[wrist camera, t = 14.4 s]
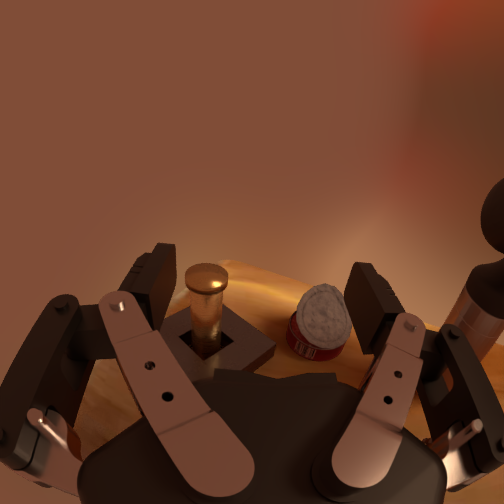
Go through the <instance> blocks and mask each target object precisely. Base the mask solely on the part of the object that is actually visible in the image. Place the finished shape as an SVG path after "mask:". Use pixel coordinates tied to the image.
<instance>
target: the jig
mask: <svg viewBox="0 0 504 504" xmlns="http://www.w3.org/2000/svg"><path fill="white" fill-rule="evenodd" d="M159 333H160V335H161V336H162V338H163V340H164V341H165V343H166V345H167V346H168V348H169V349H170V351H171V353H172V354H173V356H174V357H175V359H176V360H177V362H178V364H179V365H180V367H181V368H182V370H183V371H184V373H185V374H186V376H187V377H188V379H189V380H190V381H191V382H193V381H196V380H199V379H202V378H207V377H213V375H214V368H219V369H230V370H242V371H248V372H252V373H253V372H254V371H255V370H256V369H258V368H259V367H260V366H262V365H263V364H264V363H265V362H267V361H268V360H269V359H270V358H272V357H273V355H274V351H275V347H276V342H274V341H273V340H271V339H270V338H269V337H267V336H266V335H264V334H263V333H262V332H260V331H259V330H257V329H256V328H255V327H253V326H252V325H251V324H249V323H248V322H246V321H245V320H244V319H242V318H241V317H240V316H238V315H237V314H236V313H234V312H233V311H232V310H230V309H229V308H228V307H226V306H225V305H224V304H222V319H221V341H220V344H221V345H222V346H224V347H225V348H223V349H222V350H220V351H219V352H217V353H216V354H214V355H212V356H211V357H209V358H208V359H206V360H204V361H203V360H202V359H201V358H200V357H199V356H198V355H197V354H196V353H195V352H194V351H193V350H192V349H191V348H189V347H188V345H189V344H191V343H192V332H191V312H190V306H189V307H187V308H185V309H183V310H181V311H179V312H177V313H175V314H173V315H171V316H169V317H167V318H165V319H164V320H163V323H162V326H161V329H160V332H159Z"/></svg>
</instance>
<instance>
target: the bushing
mask: <svg viewBox="0 0 504 504" xmlns="http://www.w3.org/2000/svg"><path fill="white" fill-rule="evenodd" d="M185 284H186V286H187V288H188V289H189V290H190V312H191V332H192V349H193V351H194V352H195V353H196V354H197V355H198V356H199V357H200V358H201V359H202V360H203V361H204V360H206V359H208V358H209V357H211V356H212V355H214V354H216V353H217V352H219V351H220V341H221V319H222V300H223V290H224V289H225V288H226V287H227V285H228V273H227V271H226V270H225V269H224V268H222V267H221V266H218V265H215V264H210V263H201V264H196V265H194V266H191V267H190V268H189V269H187V271H186V273H185Z"/></svg>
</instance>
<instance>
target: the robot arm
mask: <svg viewBox="0 0 504 504" xmlns="http://www.w3.org/2000/svg"><path fill="white" fill-rule="evenodd" d="M481 228H482V232H483V235H484V237H485V239H486V240H487V242H488V243H489V244H490V245H491V246H492V247H493V248H495V249H496V250H497V251H499V252H501V253H503V254H504V178H503V179H502V180H500V181H499V182H498V183H497V184H496V185H495V186H494V187H493V188H492V189H491V191H490V192H489V194H488V196H487V197H486V199H485V201H484V204H483V207H482V211H481ZM176 278H177V271H176V248H175V244H167V243H157V245H156V246H155V248H154V250H153V251H152V253H144V254H143V255H142V256H140V257H139V258H137V260H136V261H135V263H134V264H133V267H132V268H131V269H130V271H129V273H128V274H127V276H126V277H125V279H124V280H123V282H122V284H121V285H120V287H119V289H118V290H117V291H114V292H110V293H108V294H106V295H105V296H103V297H102V299H101V300H100V302H99V304H95V305H82V306H80V305H79V302H78V300H77V298H76V297H75V296H73V295H69V294H65V295H59V296H57V297H55V298H53V299H52V300H51V301H50V302H49V303H48V304H47V306H46V307H45V309H44V310H43V312H42V313H41V315H40V316H39V318H38V320H37V321H36V323H35V324H34V326H33V327H32V329H31V331H30V333H29V334H28V336H27V337H26V339H25V341H24V343H23V344H22V346H21V348H20V350H19V351H18V353H17V355H16V357H15V359H14V360H13V362H12V364H11V366H10V368H9V370H8V372H7V374H6V376H5V378H4V380H3V382H2V384H1V386H0V461H1V462H2V463H4V465H5V466H7V467H8V468H9V469H11V470H12V471H14V472H16V473H17V474H19V475H21V476H22V477H24V478H26V479H27V480H30V481H33V482H34V483H36V484H38V485H40V486H42V487H46V488H50V487H54V488H56V489H59V490H61V491H64V492H66V493H69V494H71V495H74V496H77V497H79V498H80V501H81V504H443V502H444V497H445V492H446V491H449V492H457V491H459V490H461V489H463V488H464V487H466V486H468V485H470V484H472V483H474V482H475V481H477V480H479V479H481V478H482V477H484V476H486V475H487V474H489V473H490V472H492V471H494V470H495V469H497V468H498V467H500V466H501V465H503V464H504V413H503V410H502V408H501V406H500V403H499V401H498V399H497V396H496V394H495V392H494V390H493V388H492V385H491V383H490V381H489V379H488V377H487V375H486V373H485V371H484V369H483V367H482V365H481V363H480V362H481V361H482V360H483V358H484V357H485V356H486V354H487V353H488V352H489V350H490V349H491V348H492V346H493V345H494V343H495V342H496V340H497V339H498V337H499V336H500V334H501V333H502V332H503V330H504V258H503V259H501V260H499V261H497V262H494V263H490V264H482V265H478V266H476V267H475V268H474V269H473V270H472V271H471V273H470V275H469V277H468V280H467V282H466V284H465V286H464V288H463V289H462V292H461V294H460V295H459V297H458V299H457V301H456V303H455V305H454V307H453V308H452V310H451V312H450V314H449V315H448V317H447V319H446V320H445V322H444V324H443V326H442V327H441V329H440V330H439V332H435V331H431V330H427V329H426V328H425V325H424V323H423V322H422V320H421V319H419V318H418V317H417V316H415V315H413V314H410V313H406V312H405V310H404V308H403V306H402V305H401V303H400V301H399V300H398V298H397V296H395V293H394V291H393V290H392V288H391V286H390V285H389V283H388V282H387V281H386V280H385V279H384V278H383V277H382V276H381V275H379V274H377V272H376V270H375V269H374V267H373V265H372V264H371V263H362V262H355V263H354V264H353V267H352V270H351V273H350V276H349V279H348V282H347V285H346V288H345V291H344V302H345V305H346V308H347V310H348V313H349V316H350V318H351V321H352V324H353V327H354V329H355V332H356V335H357V338H358V340H359V343H360V346H361V349H362V352H363V355H364V354H374V359H373V360H372V362H371V364H370V366H369V368H368V370H367V372H366V374H365V376H364V378H363V380H362V381H361V383H360V385H359V387H358V389H356V388H354V387H352V386H350V385H348V384H345V383H341V382H337V378H336V374H335V373H306V374H301V375H296V376H291V377H286V378H281V379H275V378H271V377H267V376H263V375H259V374H255V373H252V372H248V371H242V370H230V369H219V368H214V375H213V377H207V378H202V379H199V380H196V381H193V382H191V381H190V380H189V379H188V377H187V376H186V374H185V373H184V371H183V370H182V368H181V367H180V365H179V364H178V362H177V360H176V359H175V357H174V356H173V354H172V353H171V351H170V349H169V348H168V346H167V345H166V343H165V341H164V340H163V338H162V336H161V335H160V333H159V332H160V329H161V326H162V323H163V320H164V317H165V314H166V311H167V309H168V306H169V303H170V300H171V297H172V295H173V292H174V289H175V286H176ZM114 358H115V359H116V361H117V363H118V366H119V368H120V370H121V373H122V375H123V377H124V380H125V382H126V384H127V386H128V388H129V390H130V393H131V395H132V397H133V399H134V401H135V403H136V405H137V407H138V409H139V411H140V413H141V415H142V418H140V419H139V420H138V421H136V422H135V423H134V424H132V425H131V426H130V427H128V428H127V429H125V430H124V431H123V432H121V433H120V434H118V435H117V436H116V437H114V438H113V439H111V440H110V441H108V442H107V443H106V444H104V445H103V446H101V447H100V448H98V449H97V450H95V451H94V452H92V453H91V454H90V455H89V456H88V457H87V458H86V459H85V460H84V462H83V460H82V458H81V453H80V450H81V442H80V438H79V436H78V434H77V433H76V432H75V431H74V429H73V427H74V423H75V420H76V417H77V413H78V410H79V407H80V404H81V401H82V398H83V395H84V392H85V389H86V386H87V383H88V380H89V377H90V375H91V372H92V369H93V367H94V364H95V361H96V360H98V359H114ZM416 389H417V392H418V395H419V398H420V401H421V404H422V407H423V411H424V414H425V417H426V420H427V424H428V427H429V431H430V434H431V438H432V442H433V445H432V448H431V449H430V448H429V447H428V446H427V445H425V444H424V443H423V442H422V441H420V440H419V439H418V438H417V437H415V436H414V435H413V434H412V433H410V432H409V431H408V430H407V429H406V428H404V427H403V425H404V423H405V420H406V417H407V414H408V411H409V408H410V406H411V402H412V399H413V396H414V393H415V390H416Z"/></svg>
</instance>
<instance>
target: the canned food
mask: <svg viewBox="0 0 504 504" xmlns="http://www.w3.org/2000/svg"><path fill="white" fill-rule="evenodd" d="M351 329H352V322H351V318H350V316H349V313H348V310H347V308H346V305H345V302H344V297H343V295H342V293H341V292H340V291H339V290H338V289H337V288H336V287H335V286H331V285H328V284H321V285H317V286H314V287H312V288H311V289H310V290H309V291H307V292H306V293H305V294H303V296H302V298H301V300H300V302H299V304H298V306H297V311H295V312H294V313H293V314H292V316H291V318H290V321H289V325H288V329H287V333H286V339H287V342H288V344H289V346H290V347H291V348H292V349H293V351H294V352H296V353H297V354H298V355H300V356H302V357H304V358H306V359H309V360H313V361H327V360H331V359H333V358H335V357H337V356H338V355H339V354H340V353H341V351H342V349H343V347H344V345H345V343H346V341H347V339H348V338H349V336H350V332H351Z"/></svg>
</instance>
